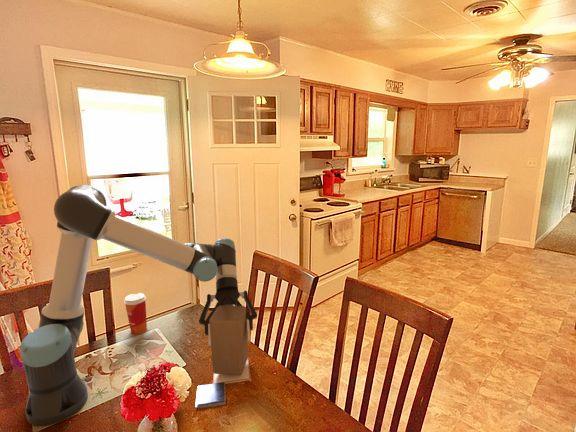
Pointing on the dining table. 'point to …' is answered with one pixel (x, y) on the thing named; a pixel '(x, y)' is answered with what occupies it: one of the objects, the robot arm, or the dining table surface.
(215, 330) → the block
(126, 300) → the coffee cup
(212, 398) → the ink pad
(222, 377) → the print card
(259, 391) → the dining table surface
